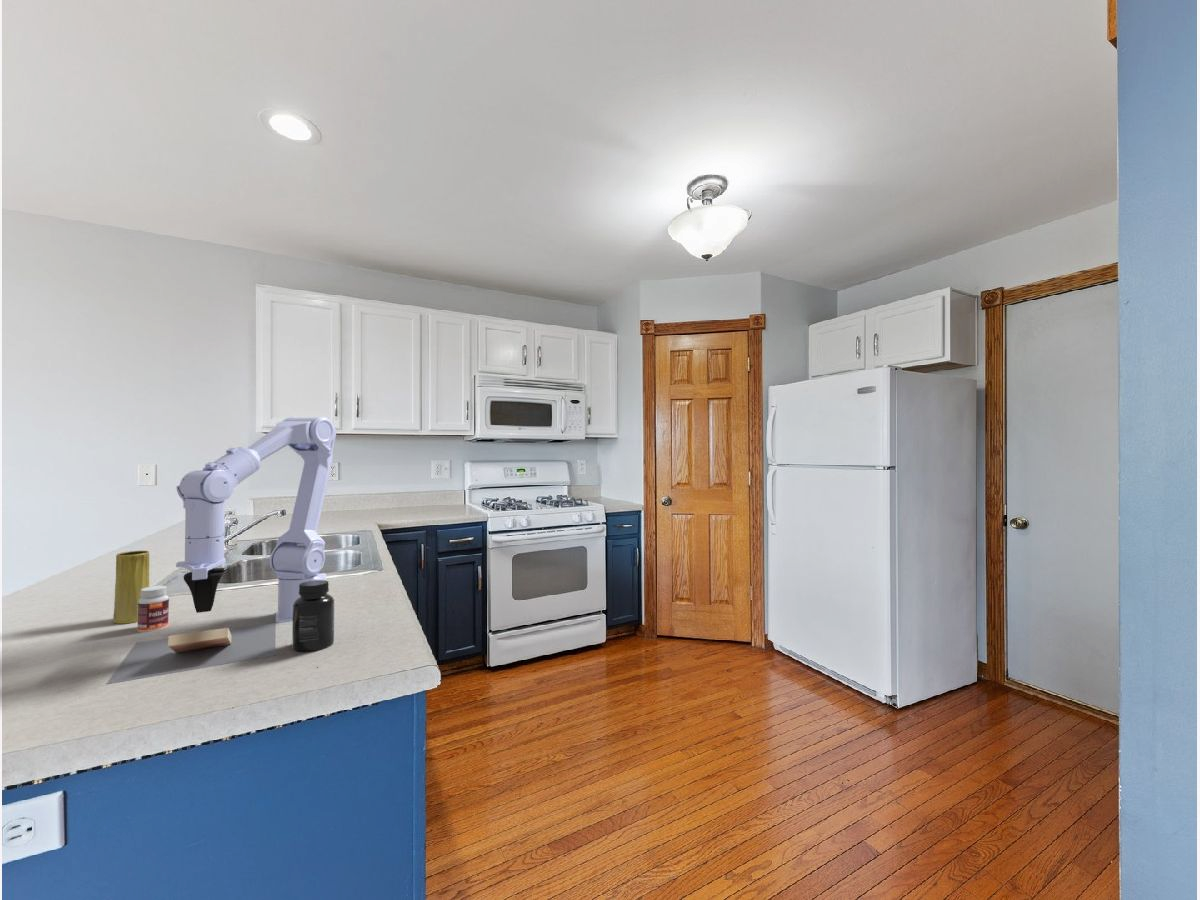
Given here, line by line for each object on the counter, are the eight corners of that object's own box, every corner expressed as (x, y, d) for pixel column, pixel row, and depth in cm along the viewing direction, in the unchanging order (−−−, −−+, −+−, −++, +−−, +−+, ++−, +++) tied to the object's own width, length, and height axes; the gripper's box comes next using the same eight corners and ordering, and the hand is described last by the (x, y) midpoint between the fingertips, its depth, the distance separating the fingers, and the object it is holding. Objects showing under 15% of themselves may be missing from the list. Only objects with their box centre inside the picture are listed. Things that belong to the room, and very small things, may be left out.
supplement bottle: (342, 643, 98) (343, 580, 98) (311, 656, 91) (312, 589, 91) (314, 638, 100) (315, 577, 100) (283, 651, 94) (283, 585, 94)
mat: (275, 624, 108) (275, 622, 108) (275, 657, 91) (275, 655, 91) (136, 644, 96) (136, 642, 96) (106, 686, 79) (106, 684, 79)
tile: (231, 635, 96) (228, 627, 89) (231, 644, 96) (227, 638, 89) (176, 643, 92) (168, 636, 85) (175, 653, 91) (167, 647, 84)
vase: (128, 615, 113) (129, 550, 113) (158, 614, 113) (159, 550, 113) (104, 624, 107) (105, 555, 107) (136, 624, 107) (136, 555, 107)
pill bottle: (150, 634, 101) (150, 592, 101) (131, 632, 102) (131, 590, 102) (174, 626, 106) (175, 585, 106) (156, 624, 107) (156, 584, 107)
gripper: (183, 532, 97) (182, 604, 97) (169, 544, 85) (168, 626, 85) (229, 529, 101) (228, 598, 101) (222, 541, 89) (221, 619, 89)
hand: (204, 611), depth 93 cm, fingers closed
